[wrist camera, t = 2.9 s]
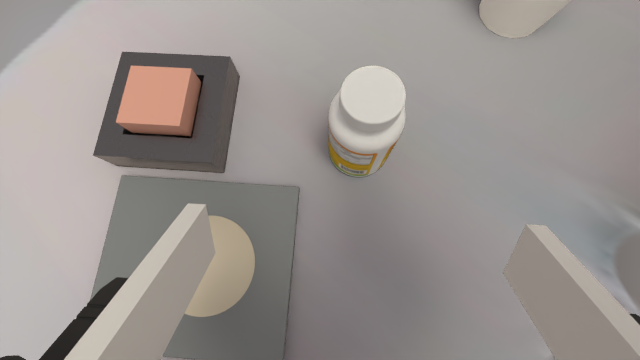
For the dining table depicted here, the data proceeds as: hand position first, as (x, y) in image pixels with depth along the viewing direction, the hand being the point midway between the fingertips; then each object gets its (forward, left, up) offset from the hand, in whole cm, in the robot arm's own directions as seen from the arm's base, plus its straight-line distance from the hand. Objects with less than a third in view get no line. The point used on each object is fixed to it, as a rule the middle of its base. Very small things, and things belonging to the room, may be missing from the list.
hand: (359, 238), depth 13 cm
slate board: (+12, +2, -13) cm, 18 cm away
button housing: (+16, -11, -13) cm, 23 cm away
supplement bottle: (-1, -9, -13) cm, 16 cm away
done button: (+16, -11, -10) cm, 22 cm away
